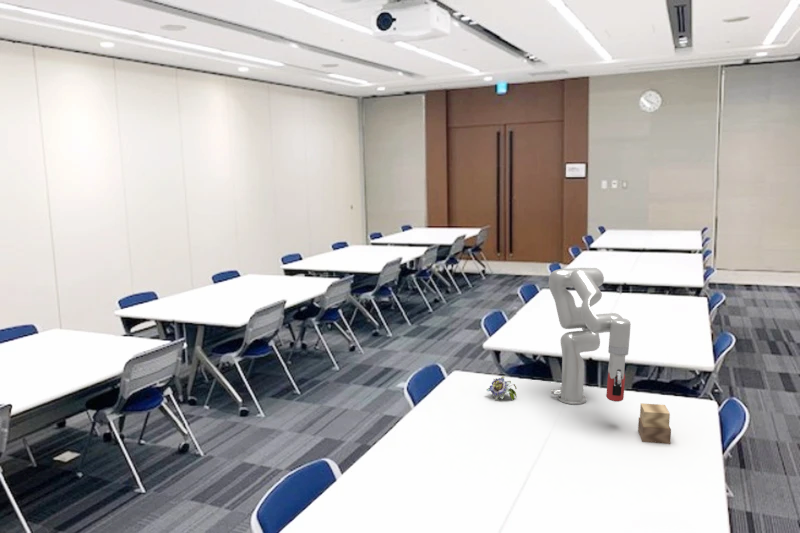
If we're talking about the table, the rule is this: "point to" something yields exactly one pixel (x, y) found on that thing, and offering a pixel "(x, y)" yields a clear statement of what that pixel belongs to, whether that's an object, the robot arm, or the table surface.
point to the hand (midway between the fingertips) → (615, 391)
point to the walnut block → (654, 434)
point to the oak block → (654, 416)
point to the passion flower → (501, 388)
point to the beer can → (610, 389)
